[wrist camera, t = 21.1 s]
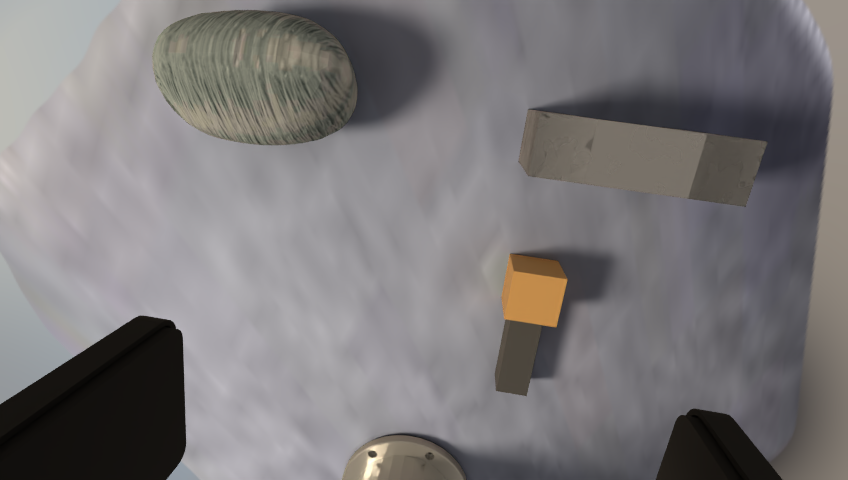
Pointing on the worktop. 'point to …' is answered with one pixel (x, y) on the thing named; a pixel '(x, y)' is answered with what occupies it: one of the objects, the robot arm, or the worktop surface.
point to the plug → (526, 317)
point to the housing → (640, 157)
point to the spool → (255, 76)
